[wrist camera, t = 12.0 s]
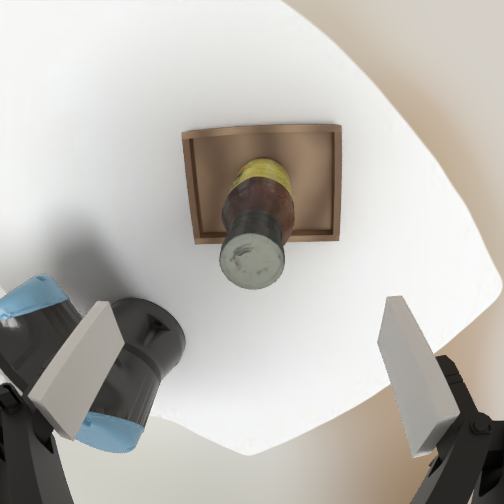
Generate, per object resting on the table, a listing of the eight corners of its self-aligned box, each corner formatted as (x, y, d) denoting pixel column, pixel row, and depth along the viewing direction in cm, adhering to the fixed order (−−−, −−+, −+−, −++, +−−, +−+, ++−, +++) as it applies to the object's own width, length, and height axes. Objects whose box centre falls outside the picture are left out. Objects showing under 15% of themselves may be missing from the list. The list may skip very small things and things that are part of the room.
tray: (200, 235, 41) (195, 244, 38) (188, 131, 35) (181, 132, 32) (335, 231, 39) (339, 241, 37) (336, 124, 33) (341, 125, 31)
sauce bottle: (237, 155, 35) (195, 202, 17) (290, 156, 35) (306, 205, 17) (238, 207, 38) (202, 298, 20) (288, 209, 37) (298, 303, 20)
